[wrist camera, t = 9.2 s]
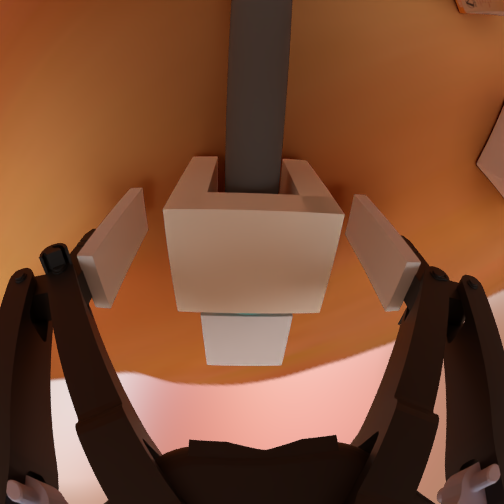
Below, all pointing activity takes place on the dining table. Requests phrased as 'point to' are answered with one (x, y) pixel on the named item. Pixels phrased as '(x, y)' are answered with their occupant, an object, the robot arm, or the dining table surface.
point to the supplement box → (481, 7)
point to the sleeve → (251, 242)
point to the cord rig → (253, 162)
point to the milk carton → (494, 156)
